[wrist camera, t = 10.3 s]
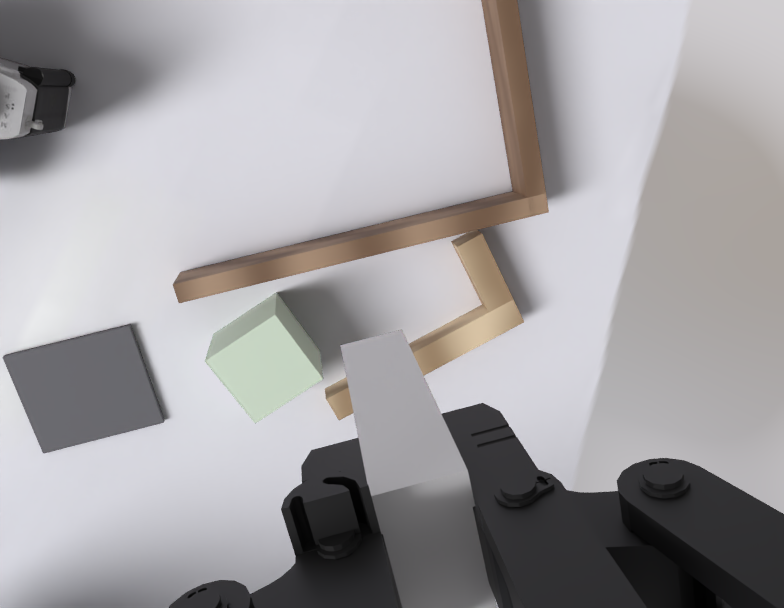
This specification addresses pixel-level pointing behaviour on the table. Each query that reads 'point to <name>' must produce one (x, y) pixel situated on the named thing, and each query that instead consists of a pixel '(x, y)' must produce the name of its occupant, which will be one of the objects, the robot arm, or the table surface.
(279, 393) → the sage cube
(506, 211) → the brown wooden u frame
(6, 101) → the camera
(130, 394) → the pad
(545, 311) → the table surface
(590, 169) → the table surface
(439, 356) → the crook
